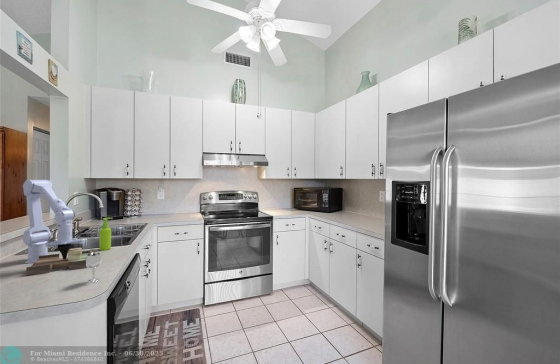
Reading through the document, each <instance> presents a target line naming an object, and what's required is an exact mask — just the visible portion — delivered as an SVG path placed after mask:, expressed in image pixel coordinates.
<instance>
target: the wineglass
mask: <svg viewBox="0 0 560 364" xmlns="http://www.w3.org/2000/svg"><path fill="white" fill-rule="evenodd" d="M102 262H103V261H102V255H101V253H100V252H94V253H91V254H88V255H87V258H86V267H87V269H90V270H92V278H91V279H88V280H87V281H86V282H87V283H88V284H93V283H96V282H98V281H100V278H95V272H96V270H95V269H96V268H99V267H100V266H101V264H102Z"/></svg>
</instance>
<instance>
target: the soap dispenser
mask: <svg viewBox="0 0 560 364" xmlns="http://www.w3.org/2000/svg"><path fill="white" fill-rule="evenodd" d="M101 219H102V220H103V223H102V224H101V228H100V229H99V251H101V252H104V251H110V250H111V249H112V228H110V224H109V222H108V220H110V219H111V220H112V219H113V217H104V218H101Z"/></svg>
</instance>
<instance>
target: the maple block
mask: <svg viewBox="0 0 560 364" xmlns="http://www.w3.org/2000/svg"><path fill="white" fill-rule="evenodd" d="M82 251H83V248H82V247H77V248H70V249H69V251H68V254H67V258H68V261H73V260H80V259H81V257H82Z"/></svg>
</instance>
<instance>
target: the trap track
mask: <svg viewBox="0 0 560 364" xmlns="http://www.w3.org/2000/svg"><path fill="white" fill-rule="evenodd" d="M94 251H95V249H94V248H91V249H90V250H82V257H81V259H80V260H73V261H68V257H67V258H66V259H63V257H61V258H60V253H51V254H48V255H42V256H39V259H38V260H37V261H36V262H33V263H32V264H31V266H26V268H25V269H26V270H25V271H26V277H27V276H28V277H29V276H33V275H42V274H43V275H44V274H49V273H51V272H60V271H67V270H68V271H71V270H78V269H86V268H87V267H86V258H87V255H88V254H91V253H95V252H94ZM87 269H88V268H87Z"/></svg>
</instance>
